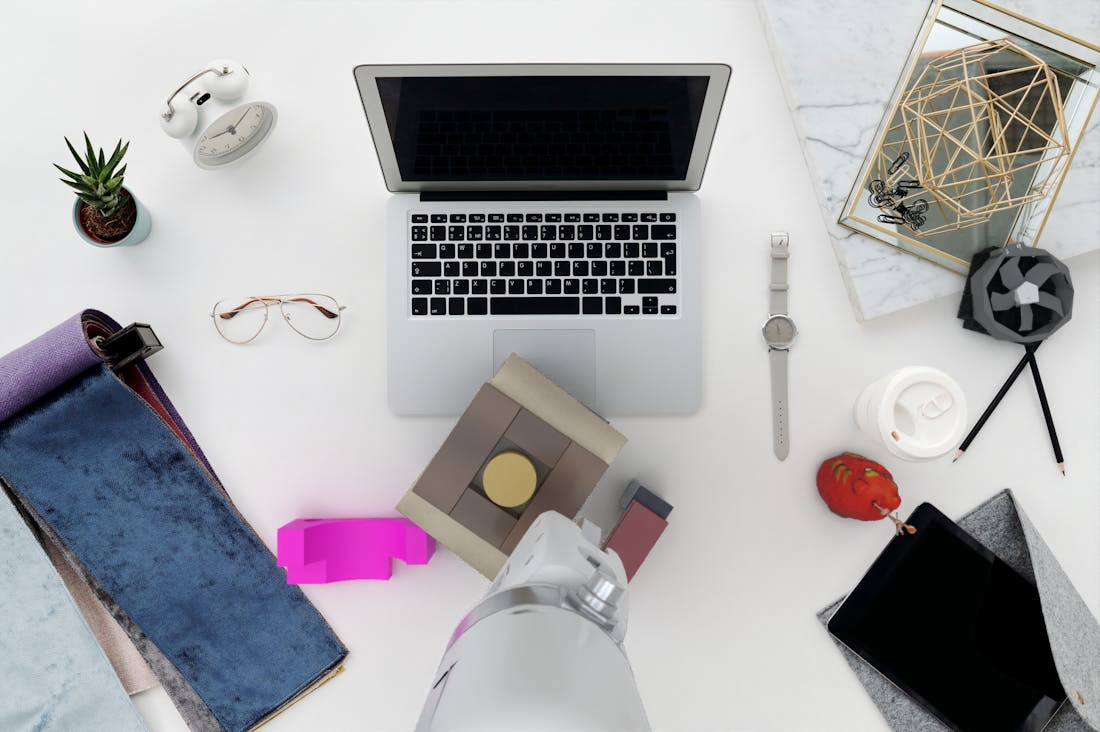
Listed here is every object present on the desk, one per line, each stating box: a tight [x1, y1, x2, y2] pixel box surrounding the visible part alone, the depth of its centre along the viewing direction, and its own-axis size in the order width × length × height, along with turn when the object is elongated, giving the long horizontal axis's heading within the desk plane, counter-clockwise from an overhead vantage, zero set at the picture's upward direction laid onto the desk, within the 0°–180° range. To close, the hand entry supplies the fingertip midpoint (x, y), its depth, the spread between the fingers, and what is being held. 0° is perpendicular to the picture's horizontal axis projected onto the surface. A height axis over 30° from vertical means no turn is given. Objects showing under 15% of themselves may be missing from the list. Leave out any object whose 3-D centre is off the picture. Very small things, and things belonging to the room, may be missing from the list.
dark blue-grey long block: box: [618, 477, 674, 521], centre depth 81 cm, size 15×6×8 cm, turn 146°
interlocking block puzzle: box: [394, 352, 629, 583], centre depth 72 cm, size 16×12×27 cm
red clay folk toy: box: [815, 451, 917, 537], centre depth 78 cm, size 8×7×15 cm
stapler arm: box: [599, 499, 669, 585], centre depth 76 cm, size 13×4×3 cm, turn 146°
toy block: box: [276, 516, 436, 585], centre depth 81 cm, size 15×6×8 cm, turn 91°
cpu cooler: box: [956, 241, 1075, 347], centre depth 84 cm, size 10×6×10 cm
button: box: [483, 450, 537, 507], centre depth 59 cm, size 4×4×3 cm
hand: (538, 578), depth 48 cm, fingers closed
